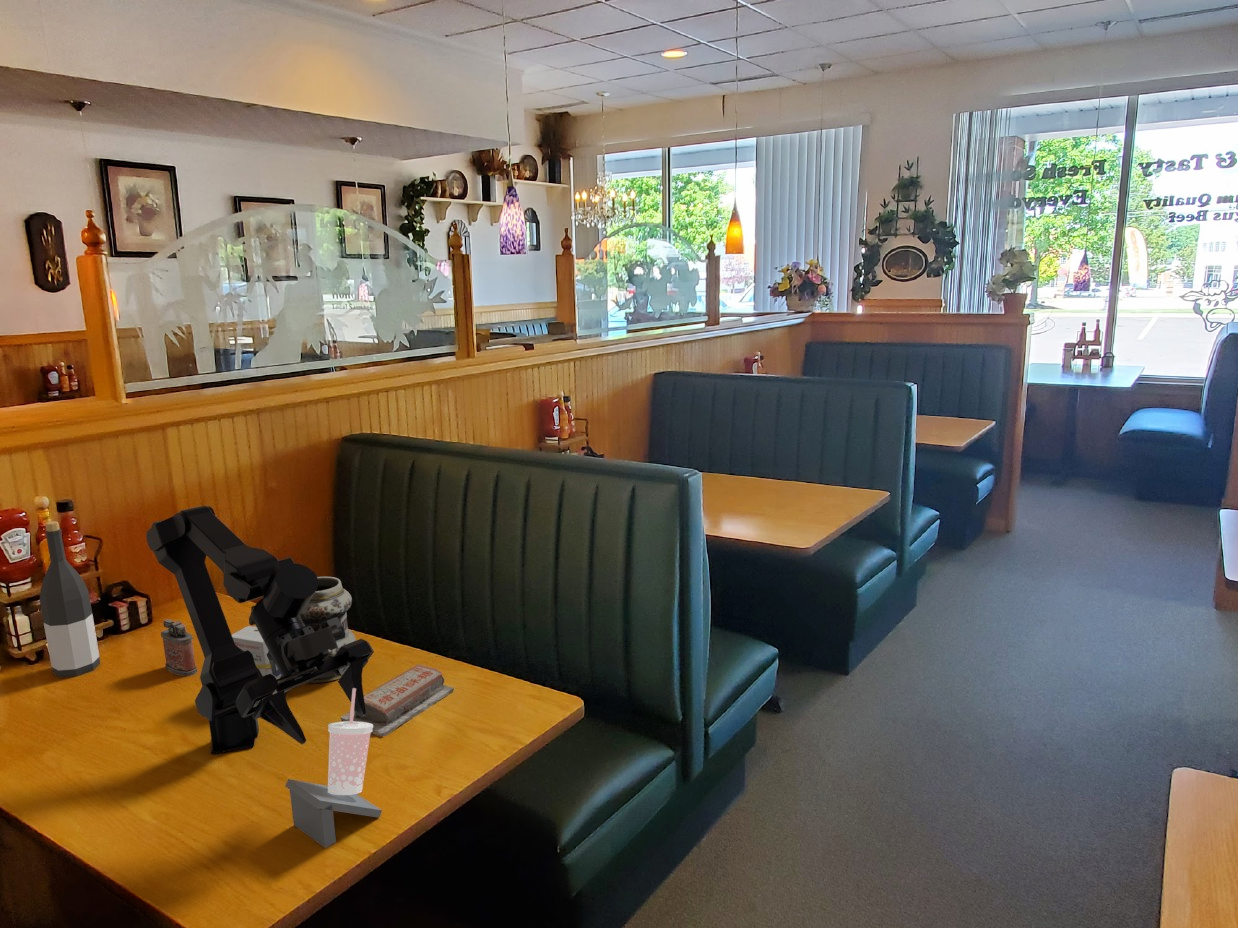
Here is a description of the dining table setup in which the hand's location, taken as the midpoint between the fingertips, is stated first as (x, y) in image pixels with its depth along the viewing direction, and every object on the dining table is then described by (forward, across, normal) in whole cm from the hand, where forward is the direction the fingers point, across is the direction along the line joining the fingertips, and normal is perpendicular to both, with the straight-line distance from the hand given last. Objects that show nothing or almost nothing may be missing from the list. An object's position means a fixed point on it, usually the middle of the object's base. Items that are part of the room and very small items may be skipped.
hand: (334, 728), depth 119 cm
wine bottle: (-50, -6, +69) cm, 85 cm away
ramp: (+10, -2, +9) cm, 13 cm away
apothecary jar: (-20, +24, +40) cm, 51 cm away
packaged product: (-4, +24, +24) cm, 34 cm away
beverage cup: (+7, 0, +6) cm, 10 cm away
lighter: (-37, +6, +57) cm, 68 cm away
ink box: (-22, +12, +41) cm, 48 cm away
